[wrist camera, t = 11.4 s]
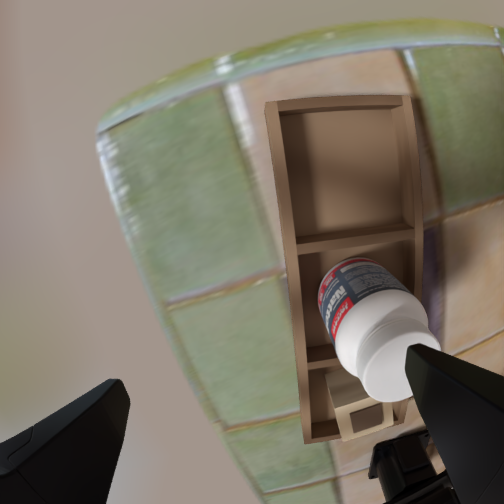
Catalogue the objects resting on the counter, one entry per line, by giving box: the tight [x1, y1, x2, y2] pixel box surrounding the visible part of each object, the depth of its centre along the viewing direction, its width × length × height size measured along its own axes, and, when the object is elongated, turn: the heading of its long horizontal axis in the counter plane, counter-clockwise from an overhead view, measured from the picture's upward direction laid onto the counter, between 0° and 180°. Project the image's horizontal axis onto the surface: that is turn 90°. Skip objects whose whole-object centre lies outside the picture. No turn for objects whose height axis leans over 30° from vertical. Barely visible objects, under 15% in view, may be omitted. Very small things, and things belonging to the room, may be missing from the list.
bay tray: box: [265, 95, 423, 444], centre depth 20 cm, size 25×9×2 cm, turn 8°
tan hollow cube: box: [324, 368, 394, 442], centre depth 21 cm, size 4×4×4 cm
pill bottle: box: [318, 257, 441, 402], centre depth 16 cm, size 5×5×9 cm
